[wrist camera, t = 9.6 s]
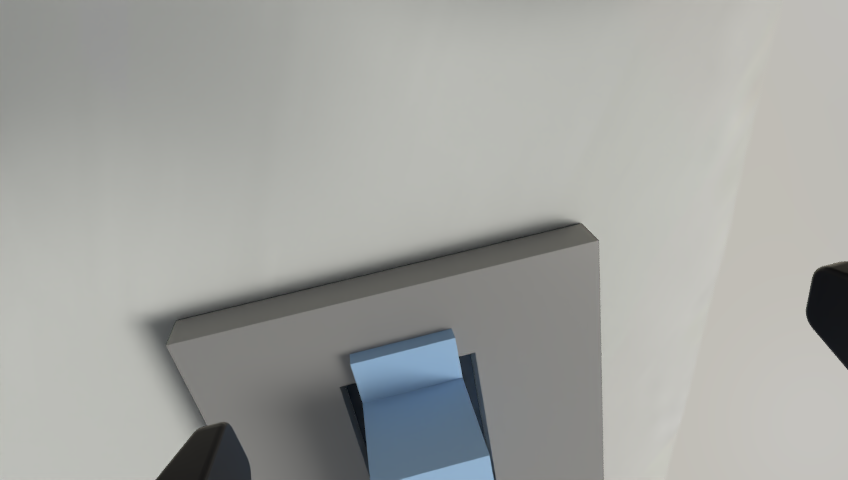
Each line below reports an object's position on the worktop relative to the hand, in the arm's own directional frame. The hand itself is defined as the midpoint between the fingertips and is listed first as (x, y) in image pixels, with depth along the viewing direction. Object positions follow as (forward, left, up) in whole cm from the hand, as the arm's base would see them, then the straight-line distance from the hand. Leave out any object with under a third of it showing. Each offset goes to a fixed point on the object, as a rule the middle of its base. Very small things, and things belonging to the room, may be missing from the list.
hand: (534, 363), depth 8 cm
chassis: (+2, +13, -12) cm, 18 cm away
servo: (+2, +13, -12) cm, 18 cm away
